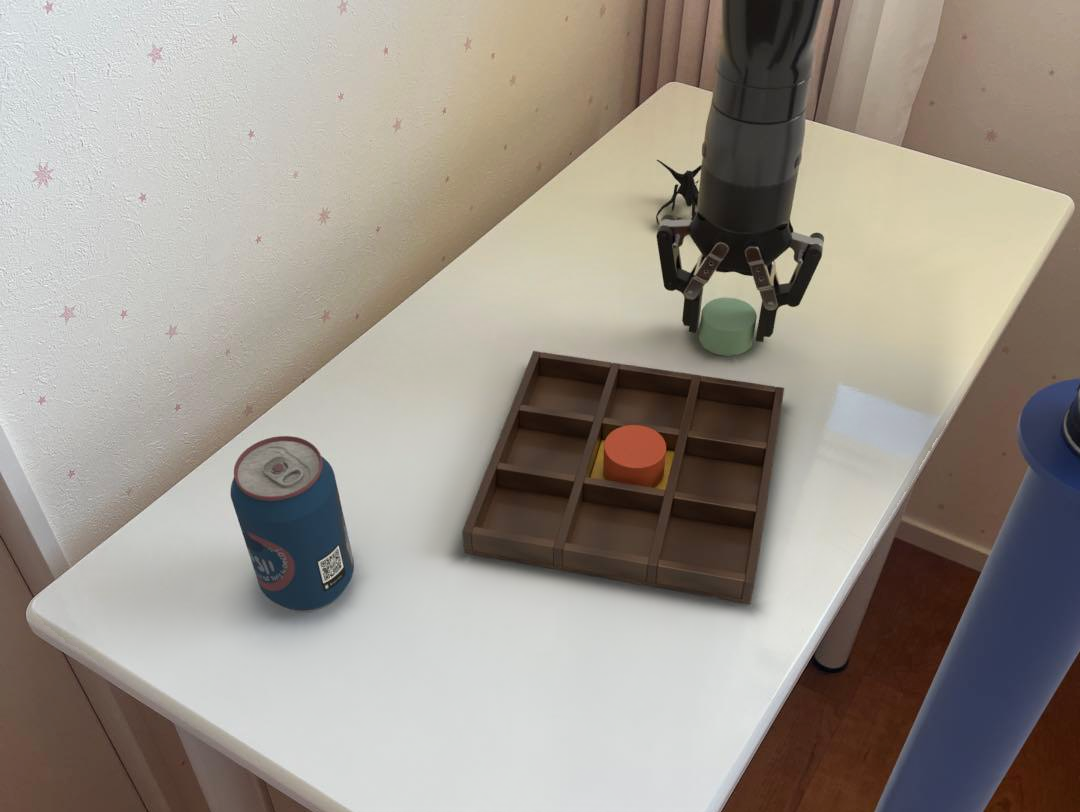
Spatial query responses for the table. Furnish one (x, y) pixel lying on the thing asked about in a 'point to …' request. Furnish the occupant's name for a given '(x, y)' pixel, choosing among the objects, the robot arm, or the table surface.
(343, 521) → the soda can
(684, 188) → the creature
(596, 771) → the table surface
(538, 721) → the table surface
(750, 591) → the grid
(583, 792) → the table surface
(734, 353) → the sage token
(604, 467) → the cylinder
